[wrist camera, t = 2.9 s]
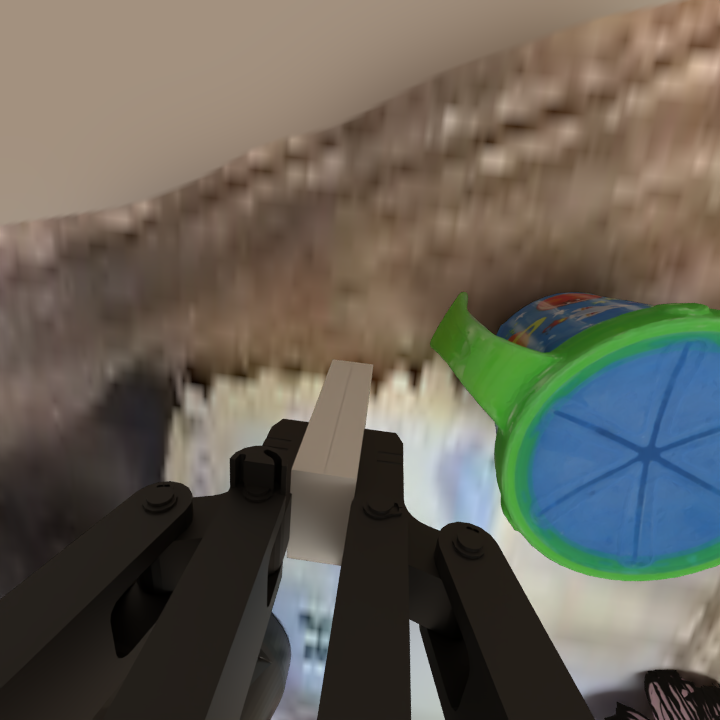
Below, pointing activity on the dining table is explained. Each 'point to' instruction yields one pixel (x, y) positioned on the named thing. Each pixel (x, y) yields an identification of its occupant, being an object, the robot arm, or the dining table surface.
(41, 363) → the dining table surface
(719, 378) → the snack cup
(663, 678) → the decorative flower
